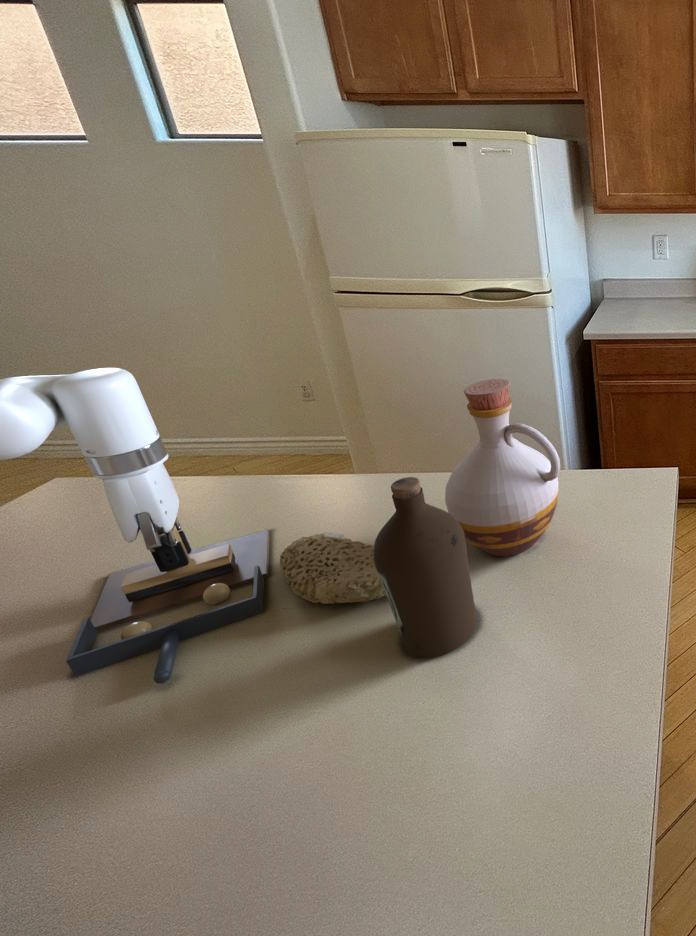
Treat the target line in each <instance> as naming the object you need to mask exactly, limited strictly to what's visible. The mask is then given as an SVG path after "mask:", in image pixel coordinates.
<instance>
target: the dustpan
mask: <svg viewBox="0 0 696 936" xmlns="http://www.w3.org/2000/svg"><path fill="white" fill-rule="evenodd" d="M252 583H253V584H252V596H251V597H248V598H245V599H242V600H239V601H236V602H233V603H230V604H227V605H224V606H221V607H218V608H215V609H211V610H208V611H205V612H202V613H200V614H197V615H196V614H195V615H193V616H191V617H187V618H184V619H181V620H178V621H175V622H172V623H170V624H166V625H164V626H160V627H157V628H153V630H151V631H148V632H145V633H142V634H139V635H136V636H133V637H130V638H127V639H124V640H122V639H120V640H118V641H114V642H112V643H108V644H105V645H102V646H99V647H97V648H93V649H92V647H93V645H94V642H95V641H96V637H97V636H98V635H97V634H98V631H96V629H95V627H94V626H93V624H92V622H91V618H90V617H85V618H83V619H82V621H81V624H80V627H79V629H78V631H77V633H76V636H75V639H74V641H73V643H72V646H71V648H70V651H69V653H68V655H67V657H66V660H65V662H66V663H67V665H68V667H69V668H70V670H71V671H72V673H73V675H74V676H75V677H78V676H81V675H84V674H87V673H91V672H94V671H96V670H99V669H101V668H104V667H107V666H110V665H113V664H116V663H119V662H121V661H125V660H127V659H131V658H133V657H136V656H140V655H142V654H146V653H149V652H151V651H154V650H157V649H160V650H159V653H158V657H157V661H156V666H155V669H154V674H153V682H154V683H156V684H164V683H166V682H168V681H169V680H170V679H171V677H172V673H173V670H174V664H175V660H176V654H177V650H178V646H179V642H180V641H183V640H186V639H188V638H189V639H190V638H192V637H194V636H197V635H199V634H203V633H206V632H209V631H212V630H214V629H215V630H216V629H217V628H220V627H224V626H226V625H229V624H232V623H235V622H238V621H240V620H244V619H247V618H249V617H252V616H256V615H258V614H261V613H263V612H264V610H263V609H264V592H265V591H264V590H265V589H264V588H265V578H263V575H262V573H261V570H260V568H259V565H257V566H255V568H254V581H253V582H252Z"/></svg>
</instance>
